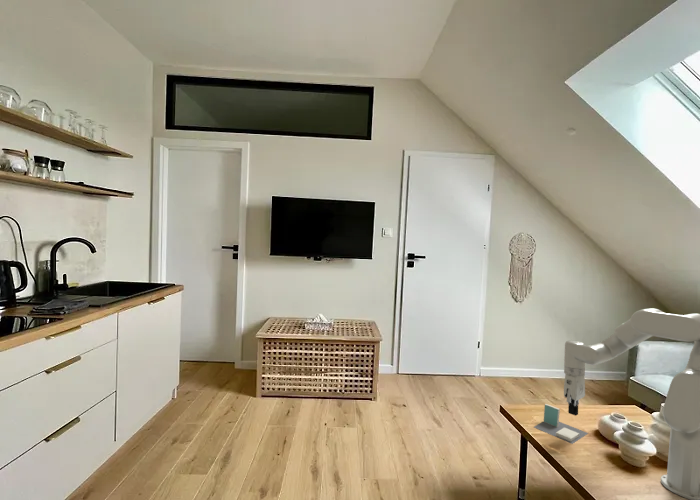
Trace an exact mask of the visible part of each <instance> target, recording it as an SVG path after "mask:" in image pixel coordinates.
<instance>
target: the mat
mask: <svg viewBox="0 0 700 500" xmlns="http://www.w3.org/2000/svg"><path fill="white" fill-rule="evenodd" d="M564 427H565V428H567V429H570V430H572V431H574V432H577V433H579V437H577V438H576V439H574V440H573V441H571V442H570V441H568V440H566V439H563V438H561V437H559V436H556V432H558V431H559V430H561V429H563V428H564ZM533 428H534V429H537V430H539V431H541V432H543V433H546V434H548V435H551V436H552V437H555V438H556V439H557V438H558V439H559V440H562V441H565V442H566V443H569V444H571V445H573V444H575V443H577V442H578V441H580V440H581V439H582V438H584V437H586V436H587V435H588V434H589V432H586V431H584V430H581V429H579V428H576V427H574V426H571V425H569V424H568V423H564V422H561V421H559V427H555V426H553V425H551V424H548V423H546V422H544V421H542V422H540V423H537V424H536V425H535V426H533Z"/></svg>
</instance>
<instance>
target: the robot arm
mask: <svg viewBox="0 0 700 500" xmlns="http://www.w3.org/2000/svg"><path fill="white" fill-rule="evenodd" d="M652 337H657V338H663V339H670V340H674V341H679V342H688V343H691V342H693V343H694V344H693V347H692V349H691V351H690V354H689V359H688V361H687V364H686V367H685V368H684V369H683V371H680V372H678V373H676V374H675V375H674V376H673V378H672V380H671V381H670V384H669V388H668V391H667V394H666V398H665V401H664V403H663V404H664V405H663V407H662V416H663V419H664V421H665V423H666V424H667V425H668V426H669V427H670V433H669V443H668V446H669V447H668V457H667V468H666V470H667V471H666V474H663V475H661V476H660V483H661V484H662V485H663V486H664V488H666V489H668V490H669V491H670V492H672V493H673V494H676V495H678V496H680V497H683V498H685V499H687V500H700V313H688V314H684V315H683V314H675V313H666V312H664V311H663V310H660V309H658V308H653V307H652V308H651V307H650V308H643V309H640V310H636V311H635V312H633V314H632V315H631V316H630V319H629V318H628V320H626V321H624V322H622V323H621V324H619V325H618V326H616V327H615V328H614V332H613V333H612V334H611V335H610V336H608V337H606V338H605V339H603V340H602V341H600V342H598V343H593V344H589V345H586V344H585V343H584V342H582V341H577V340H567V341H565V343H564V359H563V360H564V365H563V366H564V367H563V373H564V374H565V375H564V382H563V397H564V398H566V403H567V404H568V409H567V412H568V414H570V415H573V416H577V415H579V404H580V400H581V399H583V398H585V396H586V380H585V376H586V374H585V373H586V372H585V371H586V364H587V365H591V366H595V365H599V364H600V365H601V364H602V363H607V362H609V361H611V360H613V359H615V358H616V357H619V356H620V355H622V354H623V353H626V352H627V351H628V350H630V349H633V348H634V347H636V346H638V345H639V344H641V343H643V342H645V341H646V340H648V339H650V338H652Z"/></svg>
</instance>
